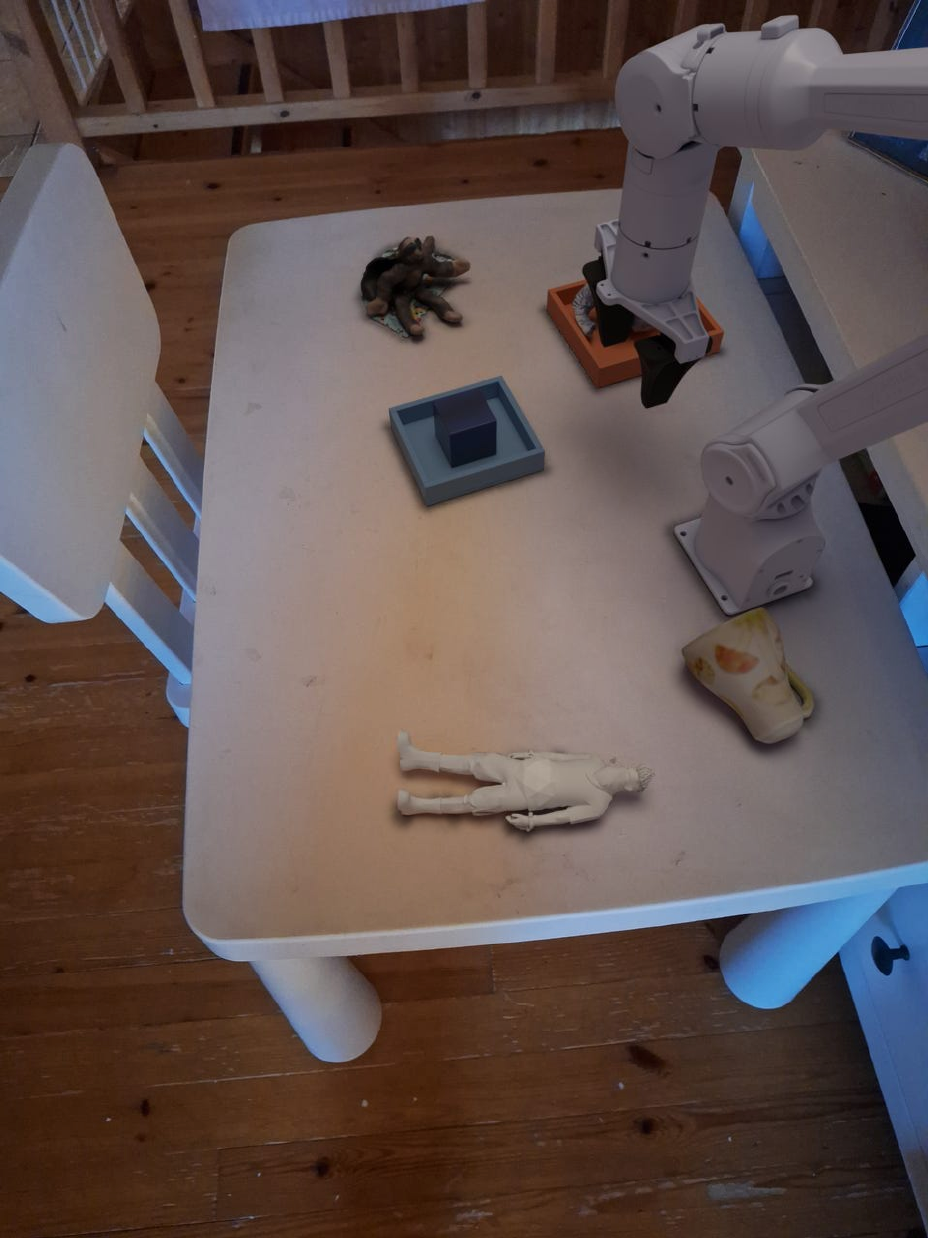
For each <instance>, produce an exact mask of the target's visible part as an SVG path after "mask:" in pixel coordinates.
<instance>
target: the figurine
mask: <svg viewBox="0 0 928 1238" xmlns="http://www.w3.org/2000/svg"><path fill="white" fill-rule="evenodd" d="M397 752H398V755H399V756H400V760H399V763H400V771H405V772H408V771H411V770H416V769H422V770H424V769H426V770H427V771H433V772H436V773H440V770H441V771H444V772H448V773H453V774H459V775H469V776H473V775H474V778H475V779H477V780H480V781H485V782H493V783H498V784H495V785H490V786H488V785H487V786H482V787H478V788H476V789H474V790H473V791H472V793H471V794H469V793H466V794H465V795H462V796H450V797H442V796H438V797H435V798H433V797H432V798H427V797H417V796H414V795H411V794H410V793H409V791H408V790H405V789H402V788H398V791H397V809H398V810H399V811H400V813H401V815H405V816H410V815H417V814H425V813H428V814H438V815H442V814H467V813H472V815H473V816H478V817H479V816H489V815H496V814H500V813H502V812H506V811H510V812H515V811H516V812H517V811H524V810H528V814H527V815H524V814H521V813H512V814H511V815H507V816H505V819H506V820H507V821H508V822H509V824H510V825H513V826H515V828H516V829H520V830H525V831H526V832H530V831H532V830H533V829H534V827H536V826H538V827H539V826H547V825H563V824H567V823H570V825H574V824H578V823H579V824H580V823H584V822H589V821H593V820H598V819H600V818H601V817H602V816H603V815H604V814H605V812H606V811H607V809H608V807H609V804H610V803H611V801H612V800H613V798H614V796H613V795H614V794H616V793H617V792H621V791H628V792H632V791H634V792H636V791H637V793H641V792H642V793H643V792H645V791H646V789H647V788H648V787H649V785H650V782H651V781H652V780H653V777H655V776H656V774H657V773H656V771H654V769H652V768H651V767H648V766H647V764H645V763H640V764H638V765H637V766H636V767H635V766H634V767H630V766H628V767H626V766H625V765H624V766H622V765H621V766H620V765H615V764H606V762H605V759H603V757H602V756H601V755H599V754H596V753H588V752H580V753H579V752H578V753H576V752H567V753H563V752H562V753H560V752H555V751H537V752H536V751H533V749H528V751H523V752H513V753H509V754H508V755H503V754H502V753H500V752H495V751H494V752H492V751H476V752H474V753H469V754H464V755H463V754H443V753H442V751H424V750H422V749H419V748H418V747H416V746H415V745H414V744H413V742H412V740H411V734H410V733H409V731H407V730H403V729H399V730H398V733H397ZM558 807H561V808H564V807H566V809H562V810H561V809H560V810H556V811H553V812H549V813H545V814H538V815H537V814H533V811H542V810H544V809H547V810H548V809H555V808H558Z"/></svg>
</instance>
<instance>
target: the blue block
mask: <svg viewBox="0 0 928 1238" xmlns="http://www.w3.org/2000/svg"><path fill="white" fill-rule="evenodd" d="M433 413H434V426H435V436H436V438H437V440H438V442H439V444H440V446H441V448H442V450H443V452H444V454H445V456H446V458H447V460H448V462H449V464H450V466H451V468H454V467H457V466H461V465H464V464H467V463H470V462H474V461H477V460H480V459H483V458H487V457H490V456H493V455H496V454H497V420H496V418H495V416H494V414H493V412H492V411H491V409H490V407H489V405H488V403H487V402H486V400H485V398H484V396H483V394H482V392H481V391H480V389H479V387H477V388H474V389H470V390H467V391H463V392H460V393H457V394H453V395H450V396H446V397H443V398H439V399H436V400H433Z"/></svg>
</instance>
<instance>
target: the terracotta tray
mask: <svg viewBox="0 0 928 1238" xmlns="http://www.w3.org/2000/svg"><path fill="white" fill-rule="evenodd" d="M585 284H587V281H586V279H585V278H584V279H581V280H578V281H575V282H571V283H568V284H567V283H566V284H564V285H560V286H556V287H553V288H548V289H547V294H546V296H547V297H546V298H547V299H546V311H547V313H548V315H549V316H550V317H551V319H552V321H553V322H554V324H555V326H556V327H557V328H558V330H559V331H560V333H561V335H562V336H563V338H564V339H565V341H566V342H567V344H568V345H569V347H570V349H571V350H572V352H573V353H574V355H575V356H576V358H577V359H578V361H579V363H580V364H581V365H582V368H583V369H584V370H585V372H586V373H587V375H588V376H589V378H590V379H591V381H592V383H593V384H594V386H595V387H596V388H597V389H599V388H602V387H603V388H604V387H606V386H610V385H612V384H617V383H620V382H623V381H626V380H630V379H632V378H636V377H639V376H642V372H641V364H640V359H639V356H638V353H637V351H636V349H635V347H634V342H635V341H638V340H641V339H645V338H648V337H651V336H655V335H660V332H661V331H659V330H658V329H656V328H655V327H654V328H653V329H651V330H647V331H642V332H634V330H633V329H632V328H631V330H630V333H629V336H628V338H627V340H626V342H622V343H619V344H616V345H612V346H609V347H605V348H604V347H603V345H602V344H601V341H600V336H599V330H598V323H597V316H596V310H595V307H594V308H593V309H592V310H591V311H590V312H589V314H588V316H589V318H590V320H591V321H592V322H594V323H595V324H597V325H596V327H597V328H596V329H595V330H594V332H593V336H588V335H584V333H583V331H582V330H581V328H580V326H579V325H578V323H577V321H576V318H575V314H574V309H573V306H572V302H573V301H574V299H575V296H576V295H577V294H578V292H579V291H580V290H581V289H582V288H583V287H584V285H585ZM696 300H697V304H698V309H699V313H700V318H701V321H702V324H703V326H704V328H705V329H706V331H707V332H708V333H709V335H710V336H711V337H712V339H713V345H712V349H711V351H710V352H709V353H708V354H706V355H705V356H704V357H706V356H710V355H713V354H716V353H719V352H720V350H721V346H722V342H723V338H724V335H725V330H724V329H723V328H722V327H721V326H720V324H719V323H718V322H717V320H716V319H715V318H714V316H713V315H712V314H711V313H710V311H708V309H707V308H706V307H705V305H704V304H703V303H702V301H701V300H700V299H699V298H698V297H697V296H696Z"/></svg>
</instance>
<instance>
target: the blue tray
mask: <svg viewBox="0 0 928 1238" xmlns="http://www.w3.org/2000/svg"><path fill="white" fill-rule="evenodd" d="M477 387H479V389H480V391H481V392H482V394H483V396H484V398H485V400H486V402H487V403H488V405H489V407H490V409H491V411H492V412H493V414H494V416H495V418H496V420H497V454H496V455H493V456H490V457H487V458H483V459H480V460H477V461H474V462H470V463H467V464H464V465H461V466H457V467H454V468H451V466H450V464H449V462H448V460H447V458H446V456H445V454H444V452H443V450H442V448H441V446H440V444H439V442H438V440H437V438H436V436H435V426H434V413H433V400H436V399H439V398H443V397H446V396H450V395H453V394H457V393H460V392H463V391H467V390H470V389H474V388H477ZM388 416H389V423H390V430H391V431H392V433H393V436H394V437H395V440H396V442H397V444H398V446H399V448H400V450H401V452H402V455H403V457H404V459H405V461H406V464H407V466H408V469H409V470H410V472H411V475H412V476H413V479H414V481H415V483H416V485H417V488H418V490H419V492H420V494H421V496H422V498H423V501H424V503H425V505H426V507H430V506H432V505H435V504H439V503H442V502H446V501H448V500H451V499H455V498H458V497H461V496H465V495H467V494H471V493H473V492H474V493H475V492H477V491H480V490H483V489H486V488H490V487H493V486H497V485H499V484H503V483H506V482H510V481H512V480H516V479H519V478H522V477H524V476H528V475H531V474H535V473H538V472H542V471H544V469H545V457H546V456H545V454H546V450H545V448H544V447H543V445H542V444H541V442H540V440H539V437H538V436H537V435H536V433H535V431H534V429H533V428H532V426H531V425H530V422H529V420H528V419H527V417H526V416H525V413H524V412H523V411H522V408H521V406H520V405H519V403H518V402H517V400H516V398H515V397H514V394H513V393H512V391H511V389H510V387H509V386H508V384H507V382H506V380H505V378H504V376H502V375H498V376H495V377H492V378H489V379H485V380H481V381H478V382H475V383H471V384H467V385H464V386H461V387H457V388H454V389H450V390H446V391H443V392H440V393H436V394H433V395H430V396H426V397H423V398H420V399H416V400H413V401H409V402H406V403H405V402H404V403H402V404H398V405H396V406H395V405H394V406H391V407H388Z"/></svg>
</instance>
